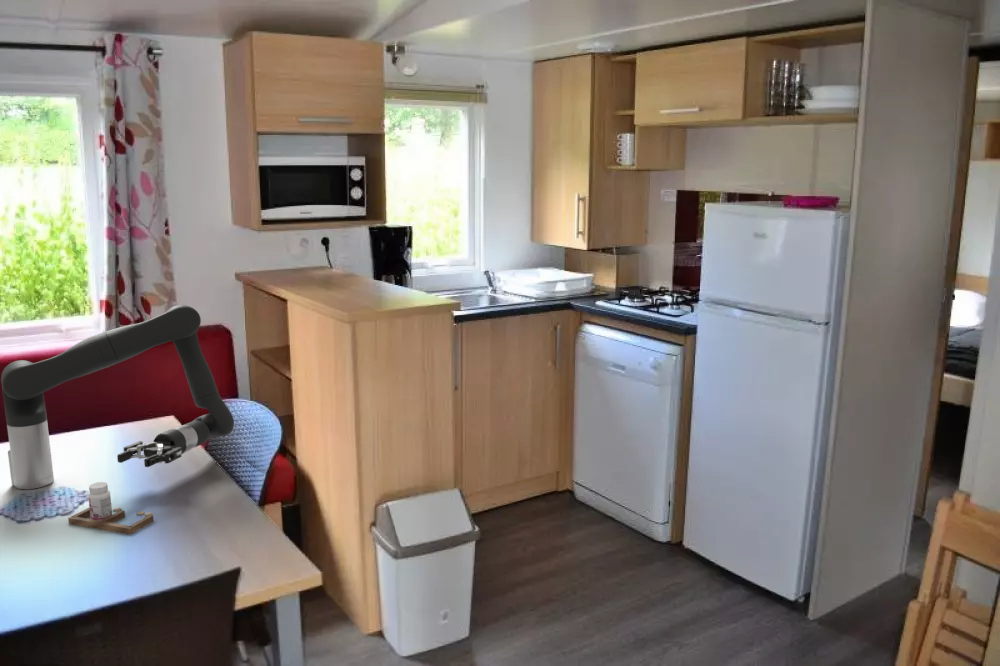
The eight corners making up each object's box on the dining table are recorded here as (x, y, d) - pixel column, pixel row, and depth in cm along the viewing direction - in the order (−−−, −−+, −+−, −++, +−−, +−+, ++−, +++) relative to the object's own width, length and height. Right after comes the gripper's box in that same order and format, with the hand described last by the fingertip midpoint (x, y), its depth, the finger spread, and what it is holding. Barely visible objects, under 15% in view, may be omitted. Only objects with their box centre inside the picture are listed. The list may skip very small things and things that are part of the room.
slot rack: (68, 523, 195) (68, 517, 195) (104, 505, 205) (103, 500, 205) (130, 534, 189) (129, 528, 189) (163, 515, 199) (163, 510, 199)
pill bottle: (86, 519, 197) (82, 486, 196) (103, 512, 201) (100, 479, 200) (99, 523, 195) (95, 490, 193) (116, 516, 199) (113, 483, 198)
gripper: (154, 425, 224) (108, 443, 209) (197, 431, 219) (153, 450, 204) (155, 451, 225) (110, 471, 210) (198, 458, 221) (155, 479, 206)
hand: (132, 461), depth 207 cm, fingers open, 8 cm apart
